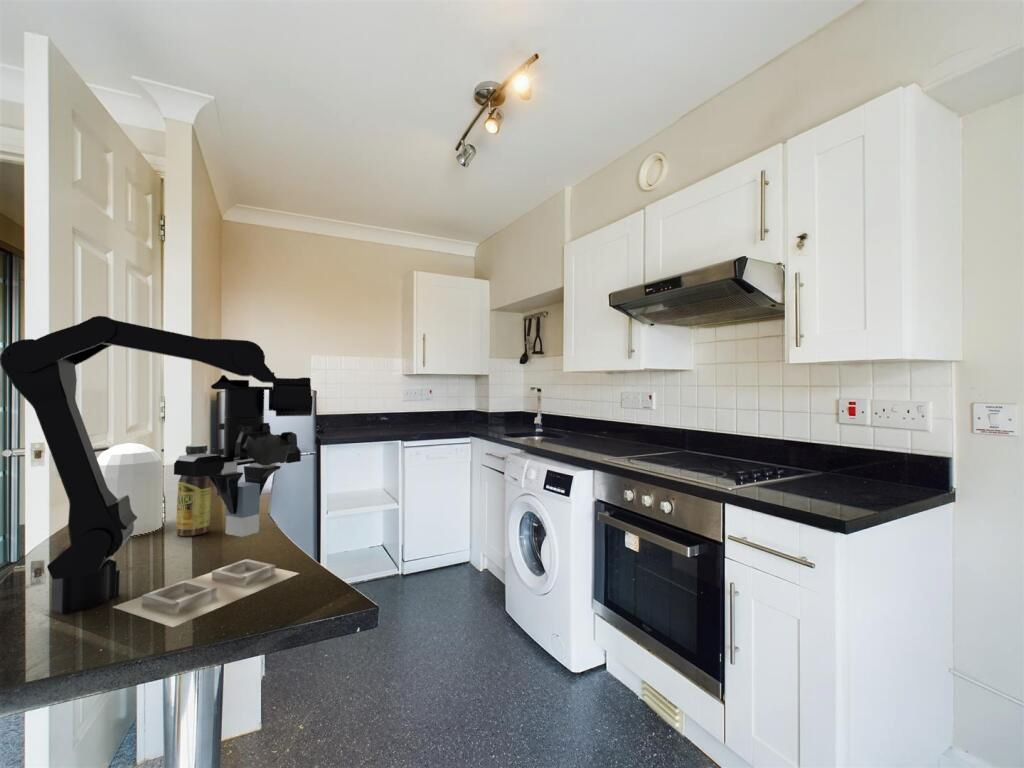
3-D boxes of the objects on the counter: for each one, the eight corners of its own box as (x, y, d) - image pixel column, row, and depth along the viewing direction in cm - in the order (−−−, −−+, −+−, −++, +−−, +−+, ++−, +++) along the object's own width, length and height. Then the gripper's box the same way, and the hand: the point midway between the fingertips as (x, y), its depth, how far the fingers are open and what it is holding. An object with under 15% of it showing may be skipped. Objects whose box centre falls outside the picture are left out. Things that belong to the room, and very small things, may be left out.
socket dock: (172, 634, 60) (173, 615, 60) (112, 613, 66) (112, 596, 66) (299, 579, 79) (299, 564, 79) (243, 566, 84) (243, 552, 84)
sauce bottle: (170, 535, 103) (171, 445, 103) (199, 527, 109) (201, 442, 109) (186, 539, 100) (188, 447, 100) (216, 531, 105) (217, 444, 106)
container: (100, 526, 109) (102, 441, 110) (169, 520, 115) (171, 439, 116) (75, 543, 97) (78, 447, 98) (154, 535, 103) (156, 444, 103)
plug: (242, 536, 74) (243, 486, 75) (225, 533, 76) (226, 484, 76) (258, 531, 77) (259, 483, 77) (242, 529, 79) (243, 481, 79)
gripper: (221, 421, 65) (219, 532, 65) (324, 416, 82) (322, 504, 82) (172, 419, 70) (170, 523, 69) (279, 414, 87) (278, 498, 87)
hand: (242, 511), depth 77 cm, fingers closed on plug, 3 cm apart
